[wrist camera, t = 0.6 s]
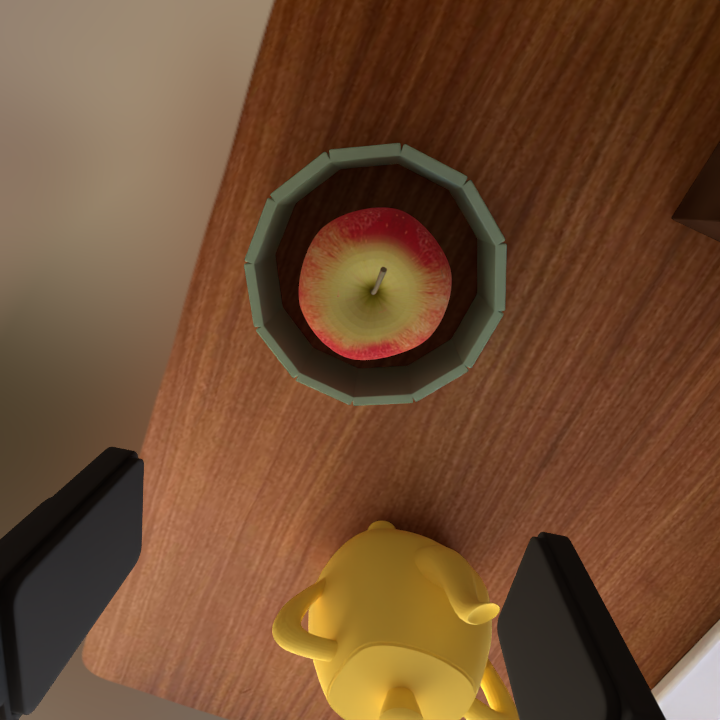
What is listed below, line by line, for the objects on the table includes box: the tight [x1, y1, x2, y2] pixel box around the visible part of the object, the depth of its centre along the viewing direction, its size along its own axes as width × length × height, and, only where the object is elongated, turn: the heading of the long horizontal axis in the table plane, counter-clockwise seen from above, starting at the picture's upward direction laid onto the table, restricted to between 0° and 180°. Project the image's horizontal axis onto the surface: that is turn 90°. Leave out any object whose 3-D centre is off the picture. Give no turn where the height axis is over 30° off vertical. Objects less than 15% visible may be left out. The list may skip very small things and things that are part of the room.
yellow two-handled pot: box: [272, 521, 519, 720], centre depth 32 cm, size 14×14×12 cm
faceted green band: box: [244, 143, 507, 406], centre depth 27 cm, size 14×14×5 cm
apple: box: [299, 207, 452, 360], centre depth 25 cm, size 8×8×10 cm
